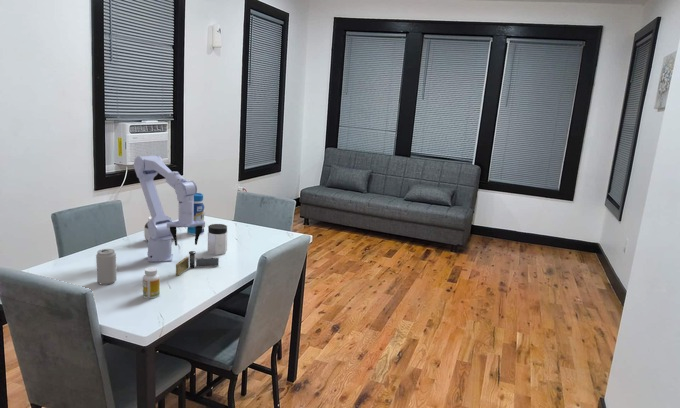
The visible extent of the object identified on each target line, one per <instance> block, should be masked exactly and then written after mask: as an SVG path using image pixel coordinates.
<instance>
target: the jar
mask: <svg viewBox="0 0 680 408" xmlns="http://www.w3.org/2000/svg"><path fill="white" fill-rule="evenodd" d="M207 227H208V229H207V253H208V254H211V255H215V256H216V255H222V254H223V255H225V254H226V252H227V251H228V225H226V224H223V223H212V224H209V225H208V226H207Z"/></svg>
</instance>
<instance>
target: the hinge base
mask: <svg viewBox="0 0 680 408" xmlns="http://www.w3.org/2000/svg"><path fill="white" fill-rule="evenodd" d="M188 255H189V269H195V267H197V268H198V267H219V262H220V261H219V257H204V258H203V257H201V258H198V257H197V258H196V251H194V250H191V251H188Z"/></svg>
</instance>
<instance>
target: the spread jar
mask: <svg viewBox="0 0 680 408" xmlns="http://www.w3.org/2000/svg"><path fill="white" fill-rule="evenodd" d="M151 218H152V217H151V215H149V216H148V218H147V219H148V221H146V223H145V225H144V230H143V233H144V239H145V240H146V241H147V242H148V239H151V237H150V236H149V233H148V225H147V224H148V222H149V221H150V219H151ZM158 224H159V223H158ZM171 241H174V238H171Z"/></svg>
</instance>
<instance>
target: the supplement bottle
mask: <svg viewBox="0 0 680 408" xmlns="http://www.w3.org/2000/svg"><path fill="white" fill-rule="evenodd" d="M160 284H161V283H160V275H159V273H158V268H156V267H152V266H151V267H146V268H145V269H144V274H143V276H142V294H143V295H142V296H143V297H144V298H146V299H154V298H157V297H159V296H160V295H161V294H160V293H161V292H160V291H161V290H160V289H161V288H160V286H161V285H160Z"/></svg>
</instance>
